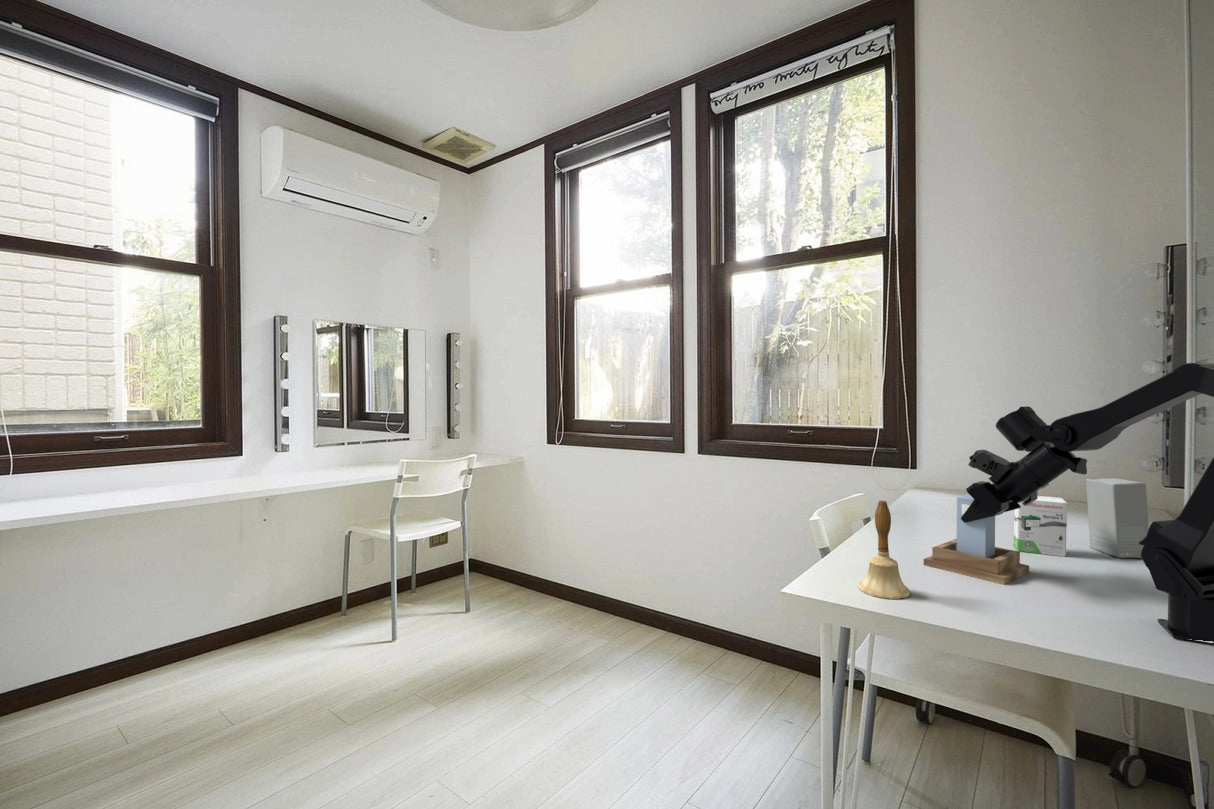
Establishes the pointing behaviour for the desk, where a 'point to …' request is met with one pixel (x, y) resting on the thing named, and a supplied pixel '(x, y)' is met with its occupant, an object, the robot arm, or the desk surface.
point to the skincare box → (1117, 516)
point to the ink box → (1041, 526)
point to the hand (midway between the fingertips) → (968, 518)
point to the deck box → (974, 531)
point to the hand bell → (883, 563)
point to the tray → (978, 563)
